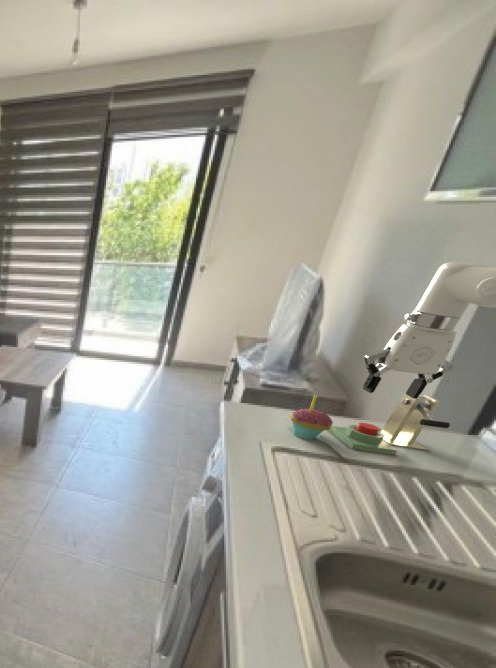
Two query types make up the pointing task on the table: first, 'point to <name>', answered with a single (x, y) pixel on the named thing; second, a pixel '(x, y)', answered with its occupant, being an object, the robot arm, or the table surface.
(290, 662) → the table surface
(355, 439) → the button box
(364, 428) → the button
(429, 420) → the lever
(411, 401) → the bracket
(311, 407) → the cupcake
